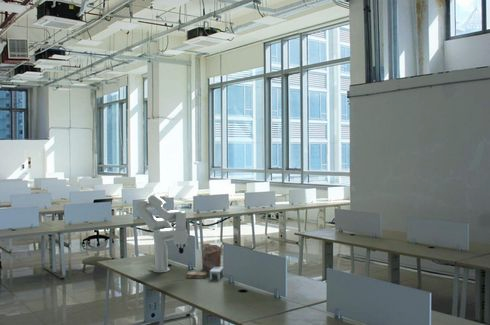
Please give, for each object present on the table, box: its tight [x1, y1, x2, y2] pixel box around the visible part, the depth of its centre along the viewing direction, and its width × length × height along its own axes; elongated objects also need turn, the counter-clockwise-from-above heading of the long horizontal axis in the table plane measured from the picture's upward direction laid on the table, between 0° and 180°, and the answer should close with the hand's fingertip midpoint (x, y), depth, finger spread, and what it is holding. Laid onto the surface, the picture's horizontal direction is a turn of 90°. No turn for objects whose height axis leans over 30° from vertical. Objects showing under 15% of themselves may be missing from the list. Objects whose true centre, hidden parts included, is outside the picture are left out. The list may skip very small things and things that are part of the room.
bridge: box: [209, 266, 225, 281], centre depth 377 cm, size 7×14×6 cm, turn 170°
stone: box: [201, 243, 222, 273], centre depth 397 cm, size 19×11×20 cm, turn 52°
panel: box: [186, 270, 209, 279], centre depth 380 cm, size 14×8×3 cm, turn 81°
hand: (181, 253), depth 381 cm, fingers closed
